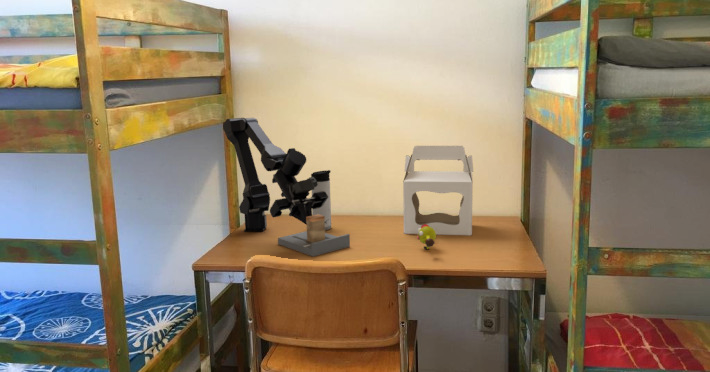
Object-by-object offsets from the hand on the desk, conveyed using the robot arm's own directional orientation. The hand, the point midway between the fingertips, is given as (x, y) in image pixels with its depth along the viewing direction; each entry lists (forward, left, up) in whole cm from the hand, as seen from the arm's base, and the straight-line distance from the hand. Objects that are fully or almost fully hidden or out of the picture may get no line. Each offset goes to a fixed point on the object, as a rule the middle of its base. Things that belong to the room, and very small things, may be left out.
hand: (312, 226), depth 177 cm
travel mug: (0, +24, -7) cm, 25 cm away
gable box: (+39, +22, -7) cm, 45 cm away
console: (0, +4, -7) cm, 8 cm away
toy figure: (+34, 0, -7) cm, 35 cm away
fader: (+1, -1, -5) cm, 5 cm away
